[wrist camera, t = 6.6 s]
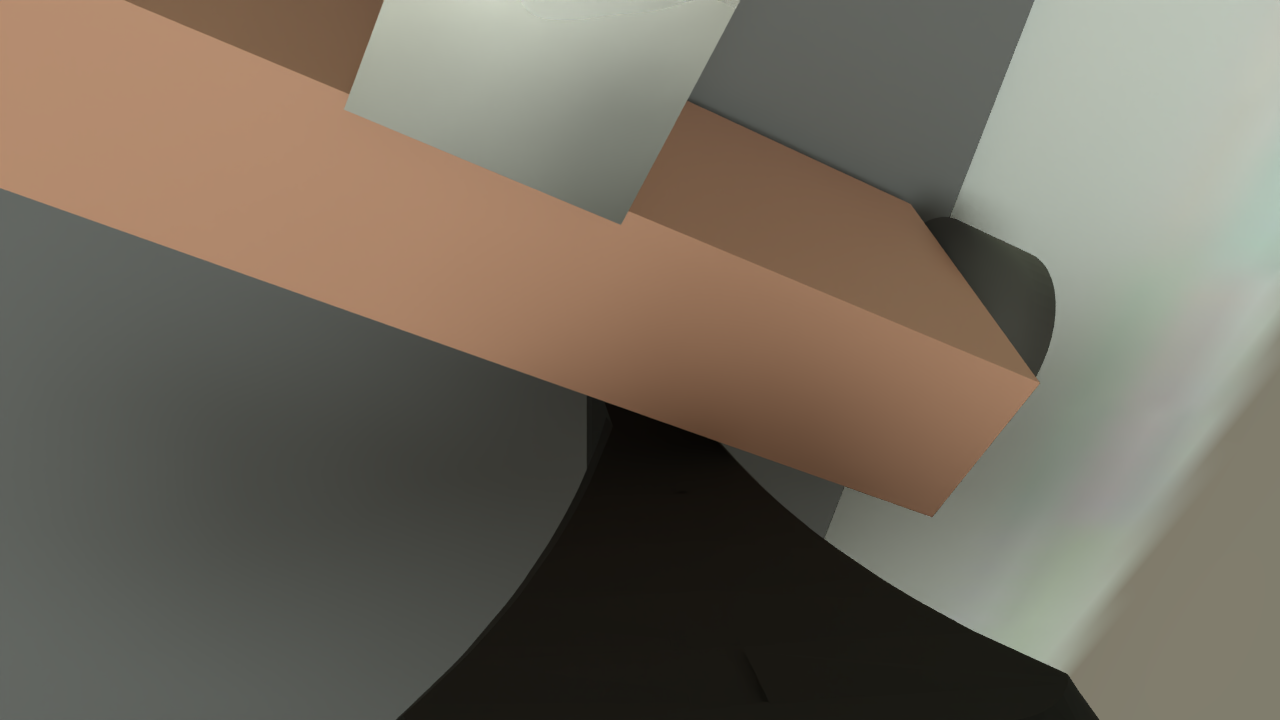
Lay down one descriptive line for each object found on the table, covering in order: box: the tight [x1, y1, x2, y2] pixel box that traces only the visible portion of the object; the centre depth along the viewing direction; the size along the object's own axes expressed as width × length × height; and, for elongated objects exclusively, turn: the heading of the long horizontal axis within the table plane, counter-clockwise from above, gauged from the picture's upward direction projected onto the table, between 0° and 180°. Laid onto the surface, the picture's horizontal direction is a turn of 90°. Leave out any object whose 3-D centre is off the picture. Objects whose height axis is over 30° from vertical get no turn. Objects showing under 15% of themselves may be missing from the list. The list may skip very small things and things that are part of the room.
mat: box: [0, 0, 1034, 720], centre depth 12 cm, size 16×19×1 cm
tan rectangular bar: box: [0, 0, 1055, 517], centre depth 10 cm, size 10×2×4 cm, turn 63°
